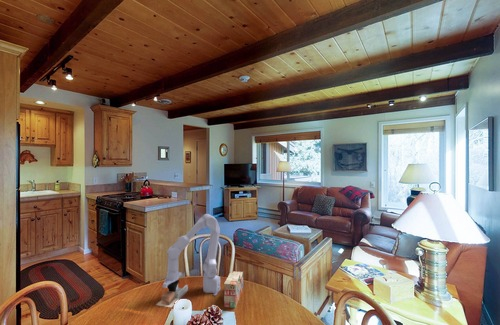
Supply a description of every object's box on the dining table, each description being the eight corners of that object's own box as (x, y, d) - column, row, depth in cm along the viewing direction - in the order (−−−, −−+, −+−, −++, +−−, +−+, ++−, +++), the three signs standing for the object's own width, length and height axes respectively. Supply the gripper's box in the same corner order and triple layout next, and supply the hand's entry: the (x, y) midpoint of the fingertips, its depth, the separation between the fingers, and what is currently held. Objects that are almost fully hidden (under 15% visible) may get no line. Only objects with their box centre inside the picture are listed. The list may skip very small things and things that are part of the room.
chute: (188, 291, 131) (189, 285, 132) (171, 309, 114) (171, 302, 114) (175, 289, 134) (175, 283, 134) (155, 306, 116) (155, 299, 116)
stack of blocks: (233, 286, 137) (233, 266, 138) (243, 287, 136) (243, 266, 137) (223, 307, 116) (223, 283, 117) (235, 308, 115) (235, 284, 116)
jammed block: (174, 299, 121) (174, 291, 121) (169, 304, 116) (169, 296, 116) (167, 298, 122) (167, 290, 122) (161, 303, 117) (161, 295, 117)
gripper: (173, 263, 131) (173, 287, 131) (158, 274, 117) (157, 301, 117) (184, 264, 130) (184, 289, 129) (170, 276, 116) (169, 303, 115)
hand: (172, 295), depth 123 cm, fingers closed
